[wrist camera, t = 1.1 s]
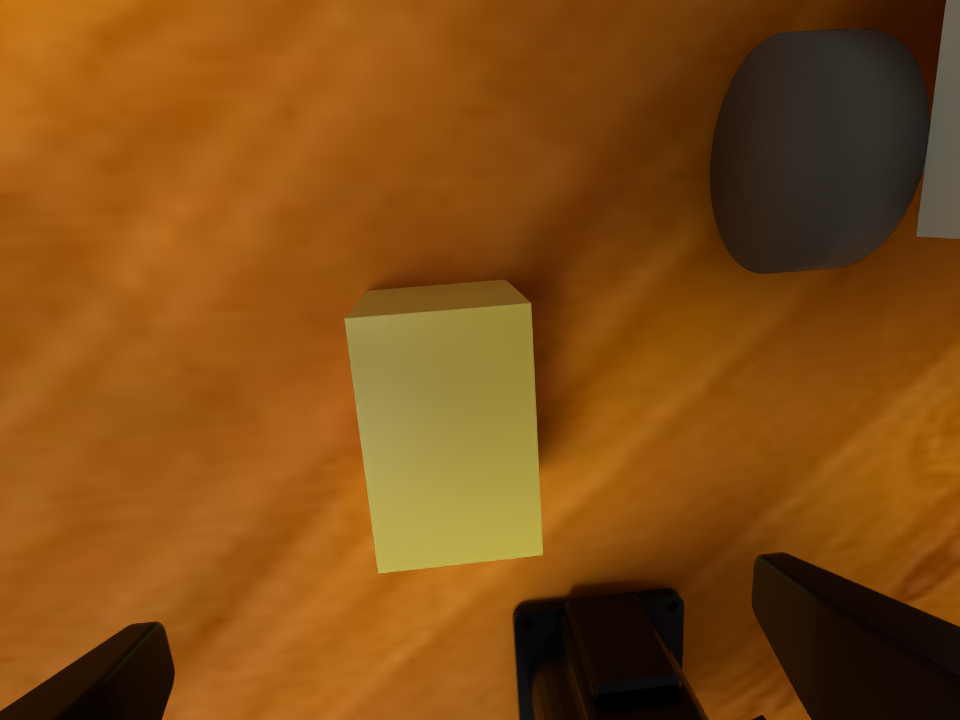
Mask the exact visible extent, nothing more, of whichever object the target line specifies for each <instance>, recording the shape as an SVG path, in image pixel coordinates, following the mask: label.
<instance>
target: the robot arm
mask: <svg viewBox="0 0 960 720" xmlns="http://www.w3.org/2000/svg"><path fill="white" fill-rule="evenodd" d="M669 601H673V602H672V603H671V604H669V605H665V604H666V603H667V602H669ZM752 607H753V611H754V613H755V616H756V618H757V620H758V622H759V624H760V626H761V628H762V630H763V631H764V633H765V635H766V637H767V639H768V641H769V643H770V645H771V646H772V648H773V650H774V652H775V654H776V656H777V658H778V660H779V661H780V663H781V665H782V667H783V669H784V671H785V673H786V675H787V676H788V678H789V680H790V682H791V684H792V686H793V688H794V690H795V691H796V693H797V695H798V697H799V699H800V701H801V702H802V704H803V706H804V708H805V709H806V711H807V713H808V714H809V716H810V718H811V719H812V720H960V627H959V626H956V625H954V624H952V623H949V622H947V621H945V620H942V619H940V618H938V617H935V616H933V615H930V614H928V613H926V612H923V611H921V610H919V609H916V608H914V607H912V606H909V605H907V604H905V603H902V602H900V601H897V600H895V599H893V598H890V597H888V596H886V595H883V594H881V593H879V592H876V591H874V590H872V589H869V588H867V587H864V586H862V585H860V584H857V583H855V582H853V581H850V580H848V579H846V578H843V577H841V576H839V575H836V574H834V573H831V572H829V571H827V570H824V569H822V568H820V567H817V566H815V565H813V564H810V563H808V562H806V561H803V560H801V559H798V558H796V557H794V556H791V555H789V554H787V553H782V552H779V553H770V554H761V555H759V556H757V557H756V559H755V561H754V570H753V586H752ZM525 618H531V620H530V621H528V622H522V620H523V619H525ZM683 620H684V603H683V600H682V599H681V597H680V595H679V594H678V593H677V591H675V590H673V589H659V590H650V591H642V592H633V593H625V594H616V595H608V596H599V597H591V598H582V599H574V600H565V601H557V602H548V603H539V604H531V605H524V606H521V607H519V608H518V609H516V610H515V612H514V613H513V631H514V647H515V662H516V678H517V694H518V709H519V720H709V719H708V717H707V715H706V714H705V712H704V710H703V708H702V706H701V704H700V703H699V701H698V699H697V697H696V695H695V693H694V692H693V690H692V688H691V686H690V684H689V683H688V681H687V679H686V677H685V675H684V673H683V672H682V656H683ZM174 677H175V668H174V663H173V659H172V655H171V651H170V647H169V643H168V639H167V635H166V631H165V628H164V626H163V625H162V624H161V623H159V622H146V623H137V624H132V625H129V626H127V627H126V628H124V629H123V630H121V631H120V632H118V633H117V634H115V635H114V636H112V637H111V638H109V639H108V640H106V641H105V642H103V643H102V644H100V645H99V646H97V647H96V648H94V649H93V650H91V651H90V652H88V653H87V654H85V655H84V656H82V657H81V658H79V659H78V660H76V661H75V662H73V663H72V664H70V665H69V666H67V667H66V668H64V669H63V670H61V671H60V672H58V673H57V674H55V675H54V676H52V677H51V678H49V679H48V680H46V681H45V682H43V683H42V684H40V685H39V686H37V687H36V688H34V689H33V690H31V691H30V692H28V693H27V694H25V695H24V696H22V697H21V698H19V699H18V700H16V701H15V702H13V703H12V704H10V705H9V706H7V707H6V708H4V709H3V710H1V711H0V720H162V717H163V714H164V711H165V708H166V705H167V702H168V699H169V696H170V693H171V690H172V687H173V683H174ZM752 720H766V719H765V718H764V716H763V715H761V716H759V717H756V718H754V719H752Z"/></svg>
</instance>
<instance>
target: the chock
mask: <svg viewBox="0 0 960 720" xmlns="http://www.w3.org/2000/svg"><path fill="white" fill-rule="evenodd" d="M344 320H345V327H346V335H347V342H348V350H349V357H350V365H351V372H352V380H353V387H354V395H355V402H356V410H357V417H358V425H359V432H360V440H361V447H362V455H363V462H364V470H365V477H366V485H367V492H368V500H369V507H370V515H371V522H372V530H373V537H374V545H375V552H376V560H377V567H378V573H387V572H396V571H405V570H414V569H423V568H431V567H440V566H449V565H458V564H467V563H476V562H485V561H494V560H503V559H512V558H521V557H530V556H539V555H543V545H542V524H541V502H540V481H539V459H538V438H537V416H536V395H535V373H534V352H533V330H532V309H531V302H530V301H528V300H527V299H526V298H525V297H524V296H523V295H522V294H521V293H520V292H519V291H518V290H517V289H515V288H514V287H513V286H512V285H511V284H510V283H509V282H508V281H507V280H506V279H504V280H492V281H480V282H467V283H455V284H442V285H430V286H417V287H405V288H393V289H380V290H368V291H366V292H365V293H364V294H363V296H362V297H361V298H360V299H359V301H358V302H357V303H356V305H355V306H354V307H353V308H352V310H351V311H350V312H349V313H348V315H347V316H346V317H345V318H344Z"/></svg>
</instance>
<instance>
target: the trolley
mask: <svg viewBox="0 0 960 720" xmlns="http://www.w3.org/2000/svg"><path fill="white" fill-rule="evenodd" d="M921 173H924V178H923V186H922V194H921V202H920V210H919V218H918V226H917V234H916V237H934V238H952V239H960V0H946V5H945V13H944V21H943V28H942V36H941V44H940V52H939V60H938V68H937V76H936V84H935V92H934V99H933V107H932V115H931V123H930V126H929V105H928V98H927V91H926V87H925V83H924V80H923V76H922V73H921V71H920V68H919V66H918V64H917V62H916V59H915V58H914V56H913V55H912V53H911V52H910V51H909V49H908V48H907V47H906V46H905V45H904V44H903V43H902V42H901V41H900V40H899V39H898V38H897V37H895V36H893V35H892V34H890V33H889V32H886V31H883V30H880V29H874V28H854V29H835V30H817V31H798V32H785V33H779V34H776V35H774V36H771V37H769V38H768V39H766V40H764V41H763V42H761V43H760V44H759V45H758V46H757V47H756V48H755V49H753V51H752V52H751V53H750V54H749V55H748V56H747V57H746V59H745V60H744V62H743V63H742V64H741V66H740V67H739V69H738V71H737V72H736V74H735V76H734V78H733V79H732V82H731V84H730V86H729V88H728V90H727V93H726V95H725V98H724V100H723V103H722V106H721V109H720V113H719V116H718V120H717V124H716V128H715V133H714V139H713V145H712V154H711V167H710V184H711V197H712V206H713V211H714V216H715V220H716V224H717V227H718V230H719V233H720V236H721V238H722V240H723V242H724V244H725V247H726V248H727V250H728V251H729V253H730V254H731V256H732V257H733V258H734V259H735V260H736V262H738V263H739V264H740V265H741V266H742V267H744V268H746V269H747V270H749V271H752V272H755V273H761V274H768V273H781V272H793V271H805V270H817V269H829V268H839V267H845V266H848V265H851V264H854V263H856V262H858V261H860V260H862V259H864V258H865V257H867V256H868V255H869V254H871V253H872V252H873V251H875V250H876V249H877V248H878V247H879V246H880V245H881V244H882V243H883V242H884V241H885V240H886V239H887V238H888V237H889V236H890V234H891V233H892V232H893V231H894V229H895V228H896V227H897V225H898V224H899V222H900V221H901V219H902V217H903V216H904V214H905V212H906V210H907V208H908V206H909V205H910V203H911V201H912V199H913V196H914V194H915V191H916V188H917V186H918V183H919V181H920V177H921Z"/></svg>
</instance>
